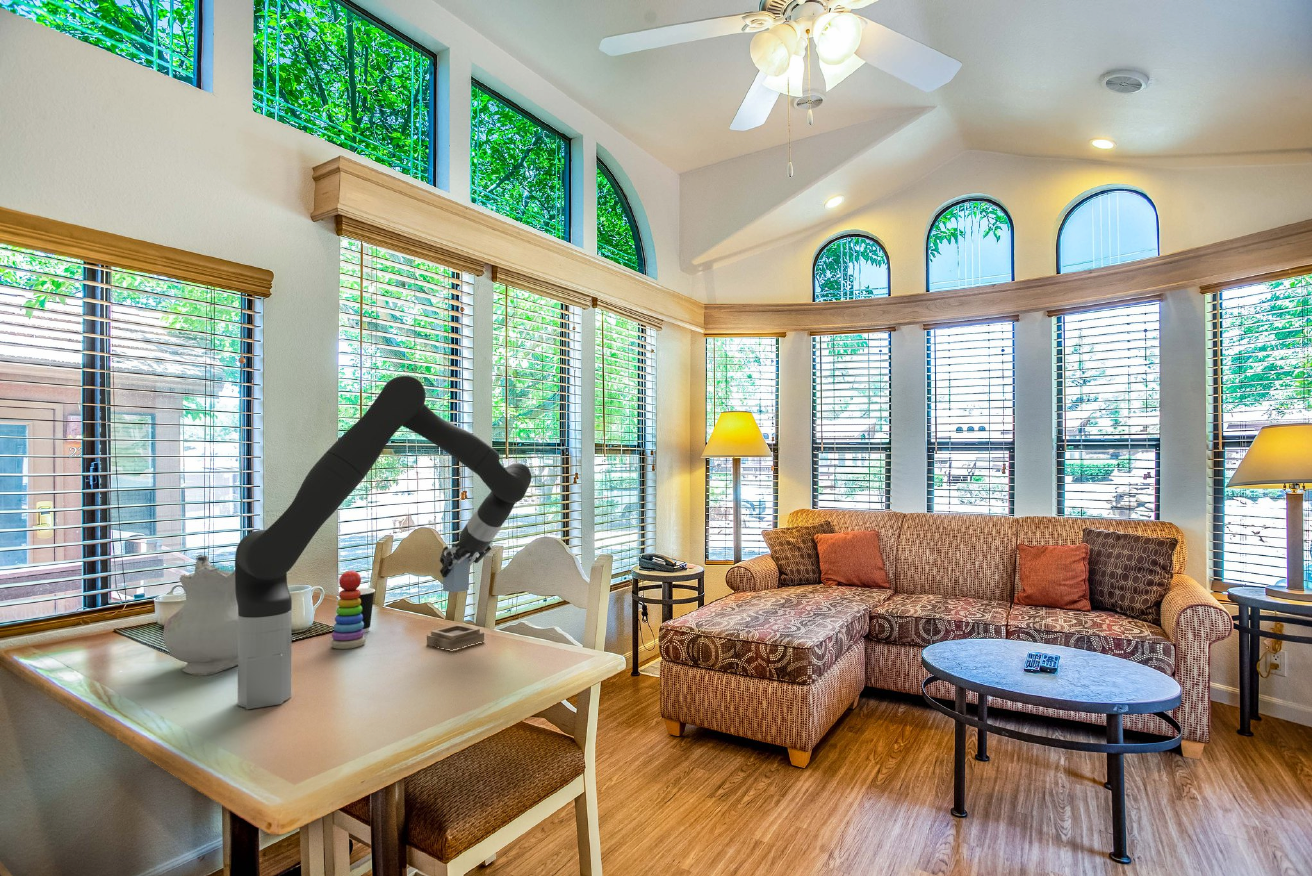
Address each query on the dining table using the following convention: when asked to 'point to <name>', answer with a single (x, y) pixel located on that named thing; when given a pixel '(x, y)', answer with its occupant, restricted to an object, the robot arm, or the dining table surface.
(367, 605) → the dixie cup
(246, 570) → the robot arm
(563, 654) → the dining table surface
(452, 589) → the slate-blue pillar
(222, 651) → the ceramic pitcher
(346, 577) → the stacking toy
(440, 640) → the walnut socket base
